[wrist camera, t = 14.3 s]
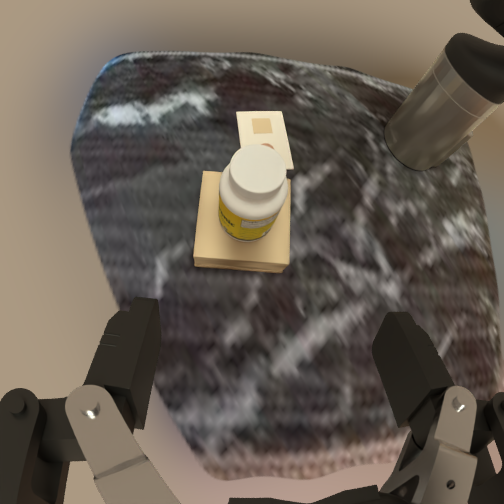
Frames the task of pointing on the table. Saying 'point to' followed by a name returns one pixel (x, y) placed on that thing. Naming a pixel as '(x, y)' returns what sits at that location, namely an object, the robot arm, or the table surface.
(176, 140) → the table surface
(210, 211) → the beech block
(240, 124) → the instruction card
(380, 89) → the table surface
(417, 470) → the robot arm
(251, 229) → the supplement bottle
